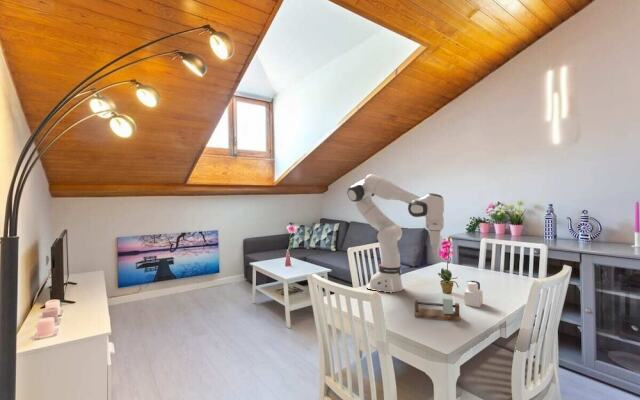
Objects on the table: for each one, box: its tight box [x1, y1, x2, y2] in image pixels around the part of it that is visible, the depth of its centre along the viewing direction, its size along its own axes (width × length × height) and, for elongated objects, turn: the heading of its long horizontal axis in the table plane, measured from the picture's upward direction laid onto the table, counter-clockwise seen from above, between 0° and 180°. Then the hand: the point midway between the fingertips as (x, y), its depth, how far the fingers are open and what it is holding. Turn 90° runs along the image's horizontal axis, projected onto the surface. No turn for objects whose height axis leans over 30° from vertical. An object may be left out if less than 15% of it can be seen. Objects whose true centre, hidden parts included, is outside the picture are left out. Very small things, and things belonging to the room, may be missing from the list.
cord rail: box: [414, 299, 461, 322], centre depth 150 cm, size 20×8×6 cm, turn 71°
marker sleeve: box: [442, 294, 454, 314], centre depth 148 cm, size 4×5×7 cm
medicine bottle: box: [464, 280, 484, 308], centre depth 162 cm, size 7×7×12 cm
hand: (433, 250), depth 162 cm, fingers open, 8 cm apart
